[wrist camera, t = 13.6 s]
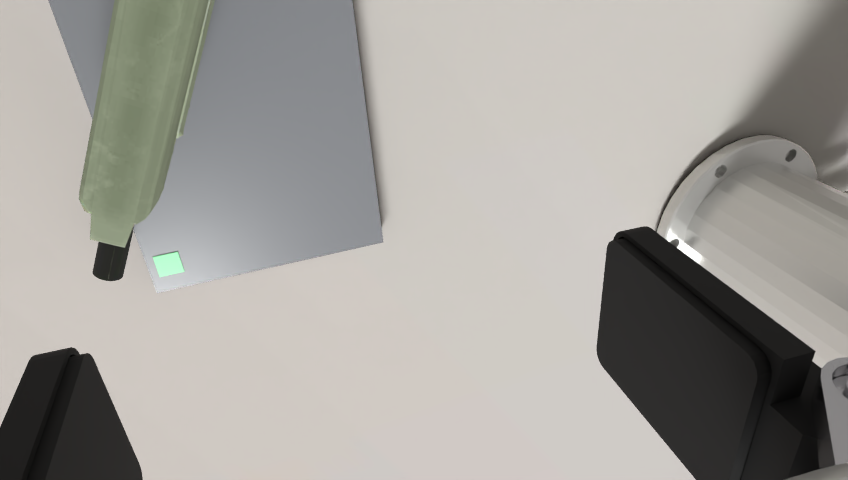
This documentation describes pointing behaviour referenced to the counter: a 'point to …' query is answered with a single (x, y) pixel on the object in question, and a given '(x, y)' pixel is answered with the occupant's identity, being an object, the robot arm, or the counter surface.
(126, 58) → the handheld radio
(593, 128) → the counter surface
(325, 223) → the charging dock
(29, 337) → the counter surface
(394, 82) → the counter surface
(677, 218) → the robot arm
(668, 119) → the counter surface
